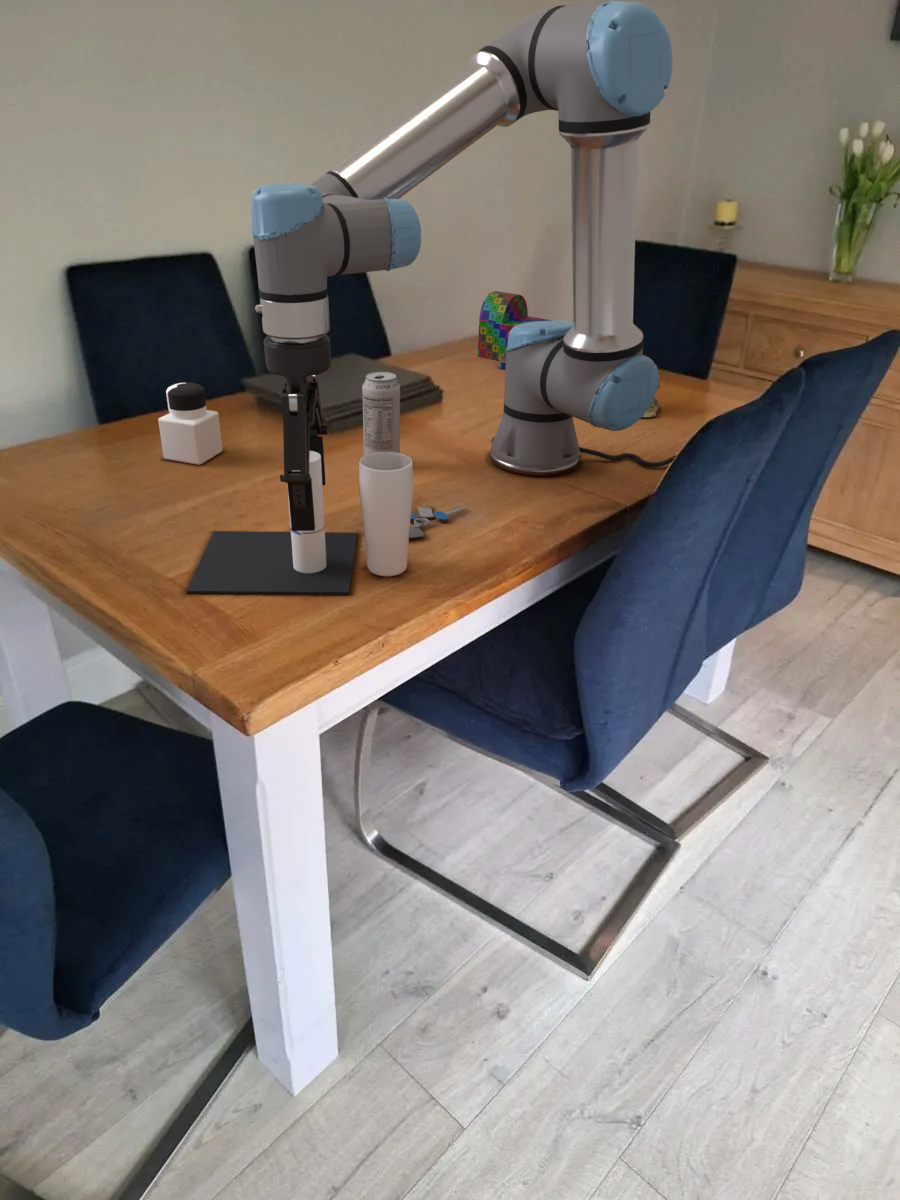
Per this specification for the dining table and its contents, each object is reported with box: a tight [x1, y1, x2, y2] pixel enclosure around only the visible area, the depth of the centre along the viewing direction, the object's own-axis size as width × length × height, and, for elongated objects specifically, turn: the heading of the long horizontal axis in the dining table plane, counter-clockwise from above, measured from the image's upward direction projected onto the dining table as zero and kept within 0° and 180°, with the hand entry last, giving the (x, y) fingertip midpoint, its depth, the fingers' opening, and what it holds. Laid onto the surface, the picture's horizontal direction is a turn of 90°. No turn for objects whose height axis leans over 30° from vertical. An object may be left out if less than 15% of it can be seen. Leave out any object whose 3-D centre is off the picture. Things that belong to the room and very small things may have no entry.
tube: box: [286, 451, 326, 573], centre depth 111 cm, size 4×4×15 cm
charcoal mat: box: [185, 530, 358, 596], centre depth 116 cm, size 20×17×1 cm
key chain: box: [409, 505, 467, 539], centre depth 128 cm, size 14×8×1 cm, turn 148°
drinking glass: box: [358, 452, 414, 577], centre depth 111 cm, size 7×7×15 cm
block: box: [477, 290, 554, 370], centre depth 202 cm, size 25×17×14 cm
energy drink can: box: [361, 371, 401, 456], centre depth 143 cm, size 6×6×15 cm
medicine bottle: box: [157, 382, 223, 466], centre depth 145 cm, size 7×7×12 cm
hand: (309, 505), depth 110 cm, fingers open, 13 cm apart
